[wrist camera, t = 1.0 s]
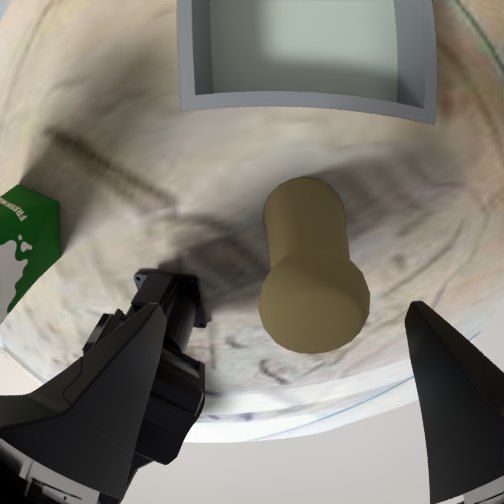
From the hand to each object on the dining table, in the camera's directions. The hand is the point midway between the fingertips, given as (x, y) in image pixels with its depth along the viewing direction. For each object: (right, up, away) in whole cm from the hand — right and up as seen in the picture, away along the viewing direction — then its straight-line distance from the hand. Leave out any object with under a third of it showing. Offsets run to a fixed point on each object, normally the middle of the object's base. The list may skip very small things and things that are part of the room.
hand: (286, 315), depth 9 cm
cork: (+3, +5, +11) cm, 13 cm away
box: (+2, +17, +3) cm, 18 cm away
